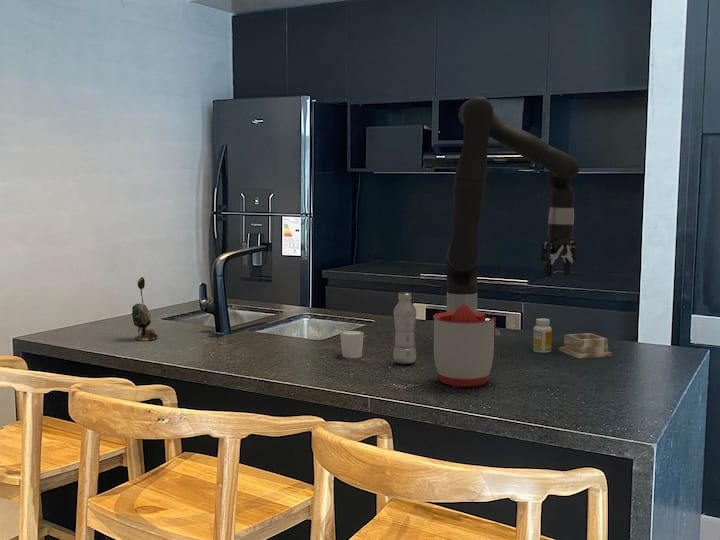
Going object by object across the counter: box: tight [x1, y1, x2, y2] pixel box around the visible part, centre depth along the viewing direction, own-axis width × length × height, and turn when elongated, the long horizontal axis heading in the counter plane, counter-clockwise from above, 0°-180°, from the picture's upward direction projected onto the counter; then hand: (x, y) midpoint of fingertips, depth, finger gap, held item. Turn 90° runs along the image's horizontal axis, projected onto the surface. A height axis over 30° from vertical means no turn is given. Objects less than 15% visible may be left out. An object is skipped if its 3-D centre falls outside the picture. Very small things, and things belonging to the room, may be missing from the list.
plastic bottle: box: [392, 291, 417, 365], centre depth 213 cm, size 6×7×20 cm
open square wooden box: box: [558, 332, 613, 359], centre depth 227 cm, size 11×11×5 cm
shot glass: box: [339, 330, 364, 359], centre depth 223 cm, size 7×7×7 cm
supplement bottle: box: [532, 317, 553, 354], centre depth 230 cm, size 5×5×10 cm
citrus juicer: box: [432, 304, 501, 388], centre depth 193 cm, size 16×17×20 cm
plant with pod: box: [131, 276, 159, 342], centre depth 248 cm, size 8×11×20 cm
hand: (558, 275), depth 234 cm, fingers open, 8 cm apart
